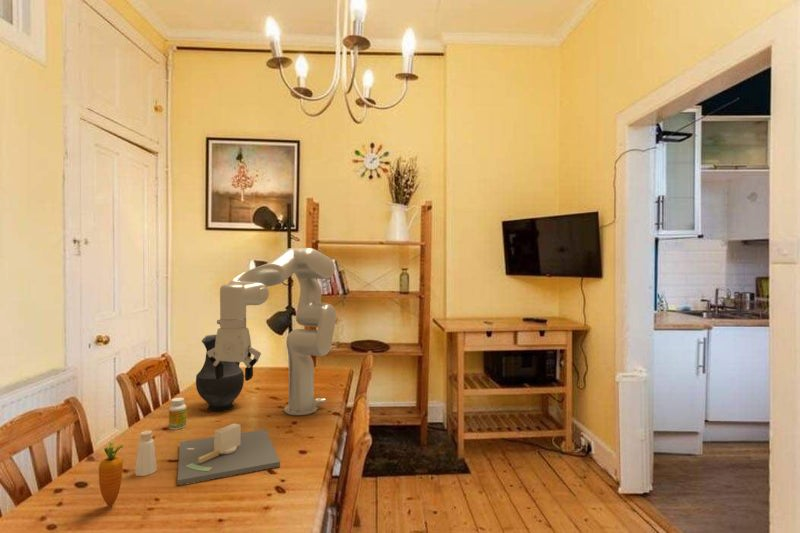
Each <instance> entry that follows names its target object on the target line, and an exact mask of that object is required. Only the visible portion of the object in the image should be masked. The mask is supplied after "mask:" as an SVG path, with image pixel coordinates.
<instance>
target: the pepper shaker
mask: <svg viewBox="0 0 800 533" xmlns="http://www.w3.org/2000/svg"><path fill="white" fill-rule="evenodd" d="M139 434H140V440H139V441H138V444H137V445H138V446H137V454H136V463H135V470H134V473H135V476H138V477H139V476H140V477H145V476H150V475H152V474H154V473H156V472H157V471H158V469H157V467H158V466H157V459H156V458H157V457H156V450H155V441H154V438H153V431H152V430H150V429H149V430H144V431H142V432H140V433H139Z"/></svg>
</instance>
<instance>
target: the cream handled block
mask: <svg viewBox="0 0 800 533" xmlns="http://www.w3.org/2000/svg"><path fill="white" fill-rule="evenodd" d="M241 426H242V425H241V424H238V423H235V422H233V423H231V424H228V425H225V426H224V427H221V428H217V429H216V430H214V431H213V432H214V433H213V435H214V436H213V437H214V451H213V452H210V453H208V454H206V455H204V456H201V457H199V458H198V462H199V463H203V462H205V461H207V460H209V459H211V458H213V457H216V456H218V455H219V453H220V454H231V453H233V452H235V451H236V447H237V446H239V445H240V444H241V433H242V432H241V430H242V429H241Z"/></svg>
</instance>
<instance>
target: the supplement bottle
mask: <svg viewBox="0 0 800 533" xmlns="http://www.w3.org/2000/svg"><path fill="white" fill-rule="evenodd" d="M170 402H171V405H170V406H169V408H168V429H170V430H172V431H173V430H174V431H175V430H181V428H182V429H184V428H185V427H186V426H187V405H186V404H185V398H184V397H174V398H172V399H171V401H170Z"/></svg>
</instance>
